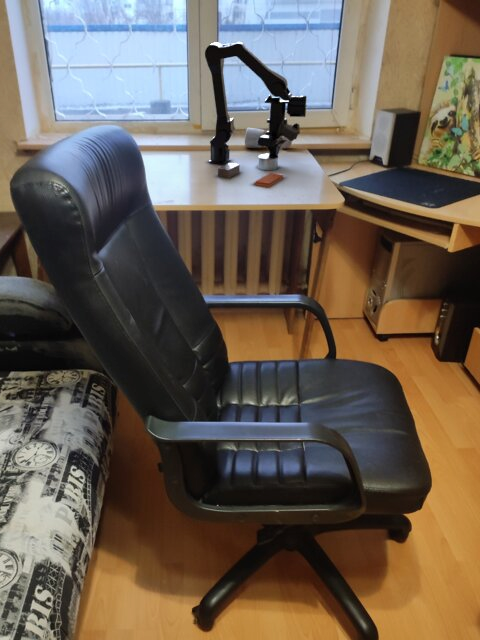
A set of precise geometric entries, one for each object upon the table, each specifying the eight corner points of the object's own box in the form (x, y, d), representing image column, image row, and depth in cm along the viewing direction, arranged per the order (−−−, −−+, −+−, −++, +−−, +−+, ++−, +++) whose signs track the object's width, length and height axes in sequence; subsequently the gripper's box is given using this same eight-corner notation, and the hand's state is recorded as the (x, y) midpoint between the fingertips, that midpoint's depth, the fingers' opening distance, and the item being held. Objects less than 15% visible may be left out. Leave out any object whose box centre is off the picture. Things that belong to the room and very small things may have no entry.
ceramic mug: (263, 150, 225) (264, 130, 220) (244, 149, 227) (244, 129, 222) (268, 144, 233) (269, 125, 229) (249, 143, 235) (250, 124, 231)
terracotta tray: (253, 184, 189) (253, 181, 189) (269, 175, 197) (269, 172, 197) (267, 187, 187) (268, 184, 186) (283, 178, 195) (283, 174, 194)
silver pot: (254, 168, 205) (255, 157, 203) (263, 163, 210) (264, 152, 207) (272, 171, 202) (272, 159, 199) (280, 166, 207) (281, 155, 204)
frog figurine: (292, 150, 224) (294, 132, 220) (275, 149, 226) (277, 131, 222) (295, 147, 229) (297, 129, 225) (279, 146, 230) (280, 128, 226)
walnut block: (217, 176, 198) (217, 168, 196) (228, 171, 203) (229, 162, 201) (228, 178, 196) (228, 169, 194) (239, 172, 201) (239, 164, 199)
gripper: (286, 123, 190) (283, 170, 199) (308, 113, 202) (304, 157, 211) (257, 120, 194) (255, 165, 204) (280, 110, 207) (277, 154, 216)
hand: (274, 160), depth 209 cm, fingers closed
